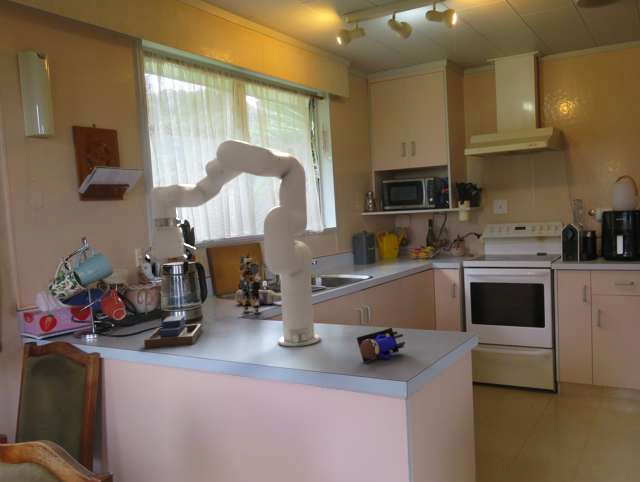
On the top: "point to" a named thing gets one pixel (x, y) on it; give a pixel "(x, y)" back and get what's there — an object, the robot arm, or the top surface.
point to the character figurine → (379, 344)
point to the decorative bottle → (260, 297)
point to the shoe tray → (173, 338)
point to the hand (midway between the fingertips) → (171, 275)
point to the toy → (250, 284)
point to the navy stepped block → (173, 327)
